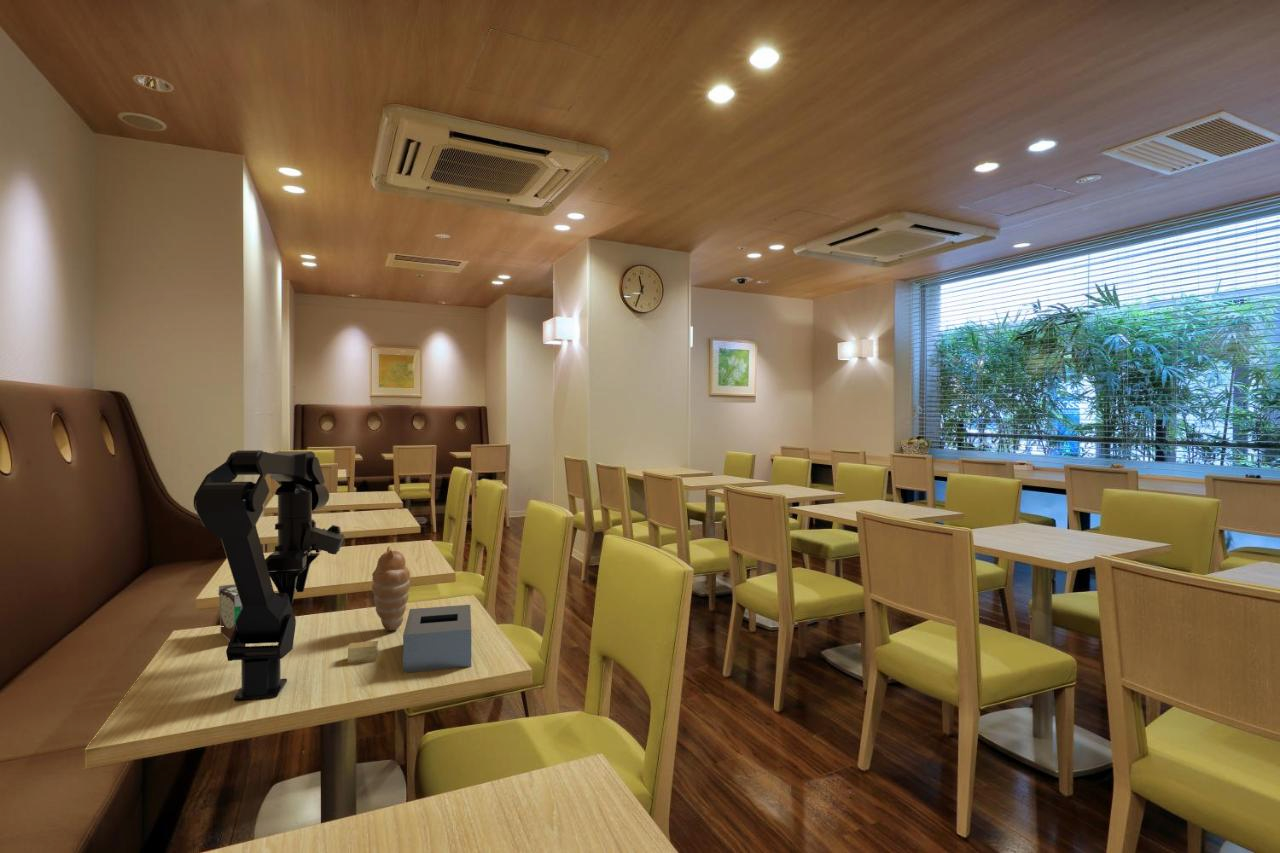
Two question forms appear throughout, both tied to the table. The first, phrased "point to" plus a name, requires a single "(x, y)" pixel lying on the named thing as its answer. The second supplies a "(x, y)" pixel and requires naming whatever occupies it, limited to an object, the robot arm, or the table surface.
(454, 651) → the box
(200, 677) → the table surface
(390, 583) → the tan ribbed tall piece
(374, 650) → the tan brushed block
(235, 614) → the food container
